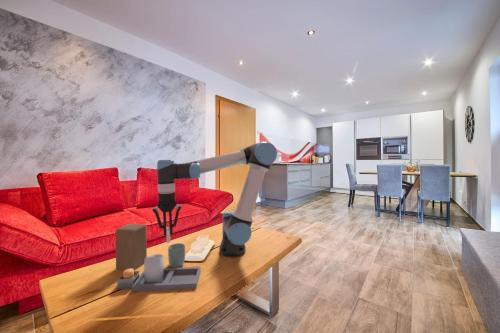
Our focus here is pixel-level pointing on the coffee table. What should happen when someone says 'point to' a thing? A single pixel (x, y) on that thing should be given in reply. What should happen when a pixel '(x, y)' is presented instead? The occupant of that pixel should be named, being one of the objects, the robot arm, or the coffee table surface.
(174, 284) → the grey divided tray
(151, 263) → the billet
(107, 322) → the coffee table surface
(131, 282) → the button housing
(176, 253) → the cup
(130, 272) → the button
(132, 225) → the wooden block
